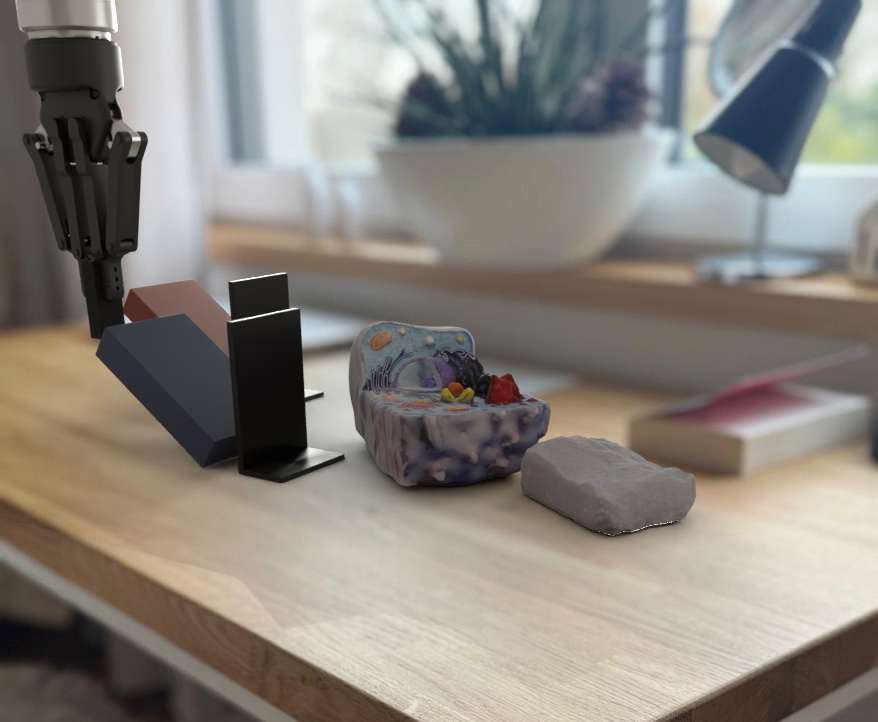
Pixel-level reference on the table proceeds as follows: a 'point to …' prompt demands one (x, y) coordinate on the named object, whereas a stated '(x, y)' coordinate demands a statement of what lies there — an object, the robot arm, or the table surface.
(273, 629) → the table surface
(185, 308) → the maroon book
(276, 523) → the table surface
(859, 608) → the table surface
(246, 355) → the black book support
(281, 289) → the black bookend
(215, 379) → the navy book
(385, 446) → the cell model
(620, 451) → the stone block
